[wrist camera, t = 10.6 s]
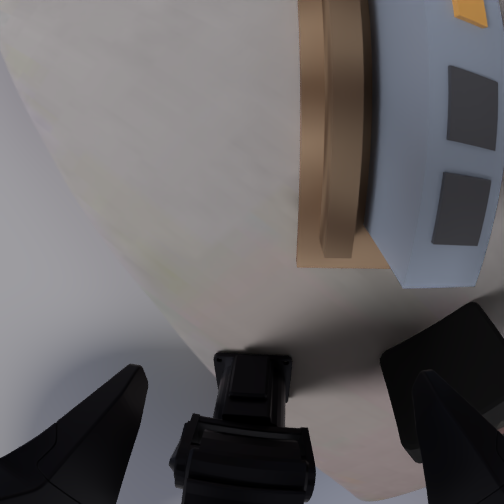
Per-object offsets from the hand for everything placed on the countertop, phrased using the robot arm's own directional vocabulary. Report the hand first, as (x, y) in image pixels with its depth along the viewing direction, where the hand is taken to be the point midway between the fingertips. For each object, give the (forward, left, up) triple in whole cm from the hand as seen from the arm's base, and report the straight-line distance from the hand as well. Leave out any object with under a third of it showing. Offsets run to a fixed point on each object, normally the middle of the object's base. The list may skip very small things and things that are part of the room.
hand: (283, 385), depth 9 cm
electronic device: (-10, -14, -12) cm, 21 cm away
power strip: (+8, -7, -11) cm, 15 cm away
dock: (+8, -7, -12) cm, 16 cm away
